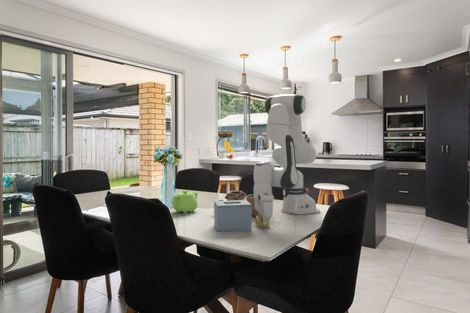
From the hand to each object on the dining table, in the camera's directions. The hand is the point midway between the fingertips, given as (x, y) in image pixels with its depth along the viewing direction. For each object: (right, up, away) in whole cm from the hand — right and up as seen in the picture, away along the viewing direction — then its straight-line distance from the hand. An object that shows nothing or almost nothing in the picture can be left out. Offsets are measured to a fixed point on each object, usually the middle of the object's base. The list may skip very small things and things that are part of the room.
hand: (262, 222), depth 155 cm
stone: (-21, -1, +24) cm, 32 cm away
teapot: (-43, -1, +33) cm, 54 cm away
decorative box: (-14, 0, +48) cm, 50 cm away
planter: (-1, -1, +22) cm, 22 cm away
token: (0, -2, 0) cm, 2 cm away
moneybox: (-15, -2, -3) cm, 15 cm away
